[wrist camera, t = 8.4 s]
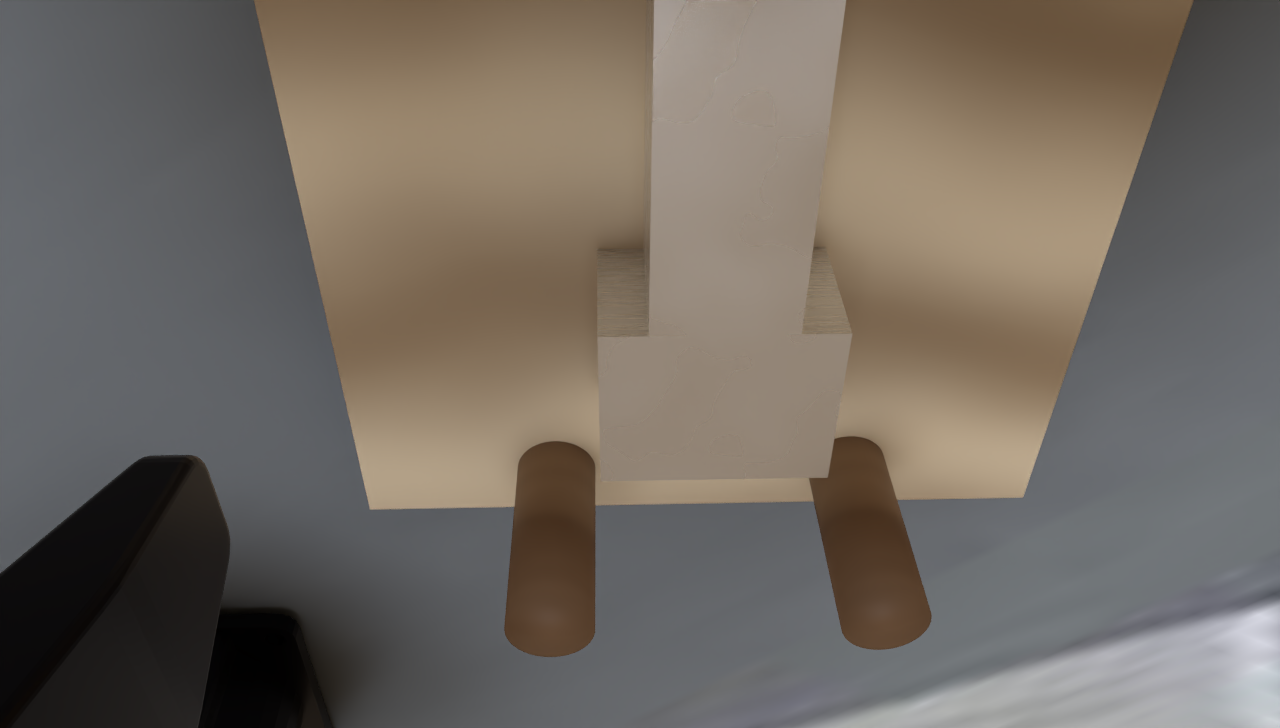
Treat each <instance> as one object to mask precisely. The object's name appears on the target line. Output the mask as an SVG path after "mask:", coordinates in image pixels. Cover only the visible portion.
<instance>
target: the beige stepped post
mask: <svg viewBox="0 0 1280 728" xmlns="http://www.w3.org/2000/svg"><path fill="white" fill-rule="evenodd" d="M845 5H846V0H646V58H645V146H644V233H643V249H597V342H598V385H599V429H600V472H601V481H655V480H714V479H773V478H828V473H829V467H830V461H831V456H832V450H833V444H834V438H835V432H836V426H837V421H838V415H839V409H840V403H841V397H842V392H843V386H844V380H845V374H846V368H847V362H848V357H849V351H850V345H851V339H852V331H851V328H850V324H849V321H848V318H847V315H846V311H845V308H844V305H843V302H842V298H841V295H840V292H839V289H838V285H837V282H836V279H835V275H834V272H833V269H832V266H831V262H830V259H829V256H828V253H827V249H826V247H813V246H814V238H815V231H816V223H817V216H818V208H819V201H820V193H821V185H822V178H823V170H824V163H825V155H826V148H827V140H828V133H829V125H830V118H831V110H832V103H833V95H834V88H835V80H836V73H837V65H838V58H839V50H840V43H841V35H842V28H843V20H844V13H845Z"/></svg>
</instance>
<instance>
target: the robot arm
mask: <svg viewBox="0 0 1280 728" xmlns="http://www.w3.org/2000/svg"><path fill="white" fill-rule="evenodd" d="M229 556H230V536H229V529H228V526H227V523H226V520H225V517H224V514H223V511H222V509H221V506H220V503H219V500H218V497H217V494H216V492H215V489H214V486H213V483H212V480H211V478H210V475H209V472H208V470H207V468H206V466H205V464H204V462H203V461H202V460H201V459H200V458H198V457H196V456H192V455H161V456H147V457H143V458H141V459H139V460H138V461H136V462H135V463H133V464H132V465H131V466H129V467H128V468H127V469H126V470H125V471H123V472H122V473H121V474H120V475H119V476H117V477H116V478H115V479H114V480H112V481H111V482H110V483H109V484H108V485H106V486H105V487H104V488H103V489H102V490H100V491H99V492H98V493H97V494H96V495H94V496H93V497H92V498H91V499H90V500H88V501H87V502H86V503H85V504H83V505H82V506H81V507H80V508H79V509H77V510H76V511H75V512H74V513H73V514H71V515H70V516H69V517H68V518H67V519H65V520H64V521H63V522H62V523H61V524H59V525H58V526H57V527H56V528H55V529H53V530H52V531H51V532H50V533H48V534H47V535H46V536H45V537H44V538H42V539H41V540H40V541H39V542H38V543H36V544H35V545H34V546H33V547H32V548H30V549H29V550H28V551H27V552H26V553H24V554H23V555H22V556H21V557H19V558H18V559H17V560H16V561H15V562H13V563H12V564H11V565H10V566H9V567H7V568H6V569H5V570H4V571H3V572H1V573H0V728H332V726H331V723H330V720H329V716H328V713H327V710H326V707H325V704H324V701H323V698H322V695H321V692H320V689H319V686H318V683H317V679H316V676H315V673H314V670H313V667H312V664H311V661H310V658H309V655H308V652H307V649H306V645H305V642H304V639H303V636H302V633H301V630H300V627H299V625H298V623H297V622H296V621H295V620H294V619H292V618H291V617H289V616H286V615H283V614H236V615H219V612H220V606H221V601H222V595H223V590H224V584H225V579H226V573H227V568H228V563H229Z"/></svg>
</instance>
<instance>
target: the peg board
mask: <svg viewBox="0 0 1280 728" xmlns="http://www.w3.org/2000/svg"><path fill="white" fill-rule="evenodd" d="M1193 1H1194V0H846V5H845V13H844V20H843V28H842V35H841V43H840V50H839V58H838V65H837V73H836V80H835V88H834V95H833V103H832V110H831V118H830V125H829V133H828V140H827V148H826V155H825V163H824V170H823V178H822V185H821V193H820V201H819V208H818V216H817V223H816V231H815V238H814V246H813V247H826V249H827V253H828V256H829V259H830V262H831V266H832V269H833V272H834V275H835V279H836V282H837V285H838V289H839V292H840V295H841V298H842V302H843V305H844V308H845V311H846V315H847V318H848V321H849V324H850V328H851V331H852V339H851V345H850V351H849V357H848V362H847V368H846V374H845V380H844V386H843V392H842V397H841V403H840V409H839V415H838V421H837V426H836V432H835V438H834V444H833V450H832V456H831V461H830V467H829V473H828V478H773V479H714V480H655V481H601V472H600V429H599V385H598V342H597V249H643V233H644V146H645V58H646V0H254V3H255V7H256V12H257V16H258V20H259V25H260V29H261V34H262V38H263V42H264V47H265V51H266V55H267V60H268V64H269V69H270V73H271V77H272V82H273V86H274V90H275V95H276V99H277V104H278V108H279V112H280V117H281V121H282V126H283V130H284V134H285V139H286V143H287V147H288V152H289V156H290V161H291V165H292V169H293V174H294V178H295V183H296V187H297V191H298V196H299V200H300V204H301V209H302V213H303V218H304V222H305V226H306V231H307V235H308V239H309V244H310V248H311V253H312V257H313V261H314V266H315V270H316V275H317V279H318V283H319V288H320V292H321V296H322V301H323V305H324V310H325V314H326V318H327V323H328V327H329V332H330V336H331V340H332V345H333V349H334V353H335V358H336V362H337V367H338V371H339V375H340V380H341V384H342V388H343V393H344V397H345V402H346V406H347V410H348V415H349V419H350V424H351V428H352V432H353V437H354V441H355V445H356V450H357V454H358V459H359V463H360V467H361V472H362V476H363V481H364V485H365V489H366V494H367V498H368V502H369V507H370V509H422V508H477V507H514V519H513V531H512V543H511V555H510V567H509V579H508V591H507V603H506V615H505V627H504V630H505V635H506V637H507V639H508V640H509V642H510V643H511V644H512V645H513V646H515V647H516V648H518V649H519V650H521V651H523V652H526V653H528V654H532V655H536V656H543V657H558V656H565V655H569V654H572V653H575V652H577V651H579V650H581V649H583V648H584V647H585V646H587V645H588V644H589V643H590V642H591V640H592V639H593V637H594V634H595V505H640V504H695V503H749V502H804V501H814V505H815V509H816V514H817V518H818V523H819V528H820V532H821V537H822V542H823V546H824V551H825V555H826V560H827V565H828V569H829V574H830V578H831V583H832V588H833V592H834V597H835V602H836V606H837V611H838V615H839V620H840V625H841V629H842V633H843V635H844V637H845V638H846V639H847V640H848V641H849V642H851V643H852V644H854V645H856V646H859V647H862V648H866V649H874V650H881V649H891V648H895V647H899V646H902V645H905V644H908V643H910V642H912V641H913V640H915V639H917V638H918V637H919V636H921V635H922V634H923V633H924V632H925V631H926V630H927V628H928V627H929V625H930V622H931V611H930V608H929V605H928V601H927V598H926V595H925V591H924V588H923V585H922V581H921V578H920V575H919V571H918V568H917V565H916V561H915V558H914V555H913V551H912V548H911V545H910V541H909V538H908V535H907V531H906V528H905V525H904V521H903V518H902V515H901V511H900V508H899V505H898V501H897V500H913V499H967V498H1022V497H1023V496H1024V493H1025V490H1026V487H1027V484H1028V481H1029V478H1030V476H1031V473H1032V470H1033V467H1034V464H1035V461H1036V458H1037V455H1038V452H1039V449H1040V446H1041V443H1042V441H1043V438H1044V435H1045V432H1046V429H1047V426H1048V423H1049V420H1050V417H1051V414H1052V411H1053V408H1054V406H1055V403H1056V400H1057V397H1058V394H1059V391H1060V388H1061V385H1062V382H1063V379H1064V376H1065V374H1066V371H1067V368H1068V365H1069V362H1070V359H1071V356H1072V353H1073V350H1074V347H1075V344H1076V341H1077V339H1078V336H1079V333H1080V330H1081V327H1082V324H1083V321H1084V318H1085V315H1086V312H1087V309H1088V307H1089V304H1090V301H1091V298H1092V295H1093V292H1094V289H1095V286H1096V283H1097V280H1098V277H1099V274H1100V272H1101V269H1102V266H1103V263H1104V260H1105V257H1106V254H1107V251H1108V248H1109V245H1110V242H1111V239H1112V237H1113V234H1114V231H1115V228H1116V225H1117V222H1118V219H1119V216H1120V213H1121V210H1122V207H1123V205H1124V202H1125V199H1126V196H1127V193H1128V190H1129V187H1130V184H1131V181H1132V178H1133V175H1134V172H1135V170H1136V167H1137V164H1138V161H1139V158H1140V155H1141V152H1142V149H1143V146H1144V143H1145V140H1146V137H1147V135H1148V132H1149V129H1150V126H1151V123H1152V120H1153V117H1154V114H1155V111H1156V108H1157V105H1158V103H1159V100H1160V97H1161V94H1162V91H1163V88H1164V85H1165V82H1166V79H1167V76H1168V73H1169V70H1170V68H1171V65H1172V62H1173V59H1174V56H1175V53H1176V50H1177V47H1178V44H1179V41H1180V38H1181V35H1182V33H1183V30H1184V27H1185V24H1186V21H1187V18H1188V15H1189V12H1190V9H1191V6H1192V3H1193Z"/></svg>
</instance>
